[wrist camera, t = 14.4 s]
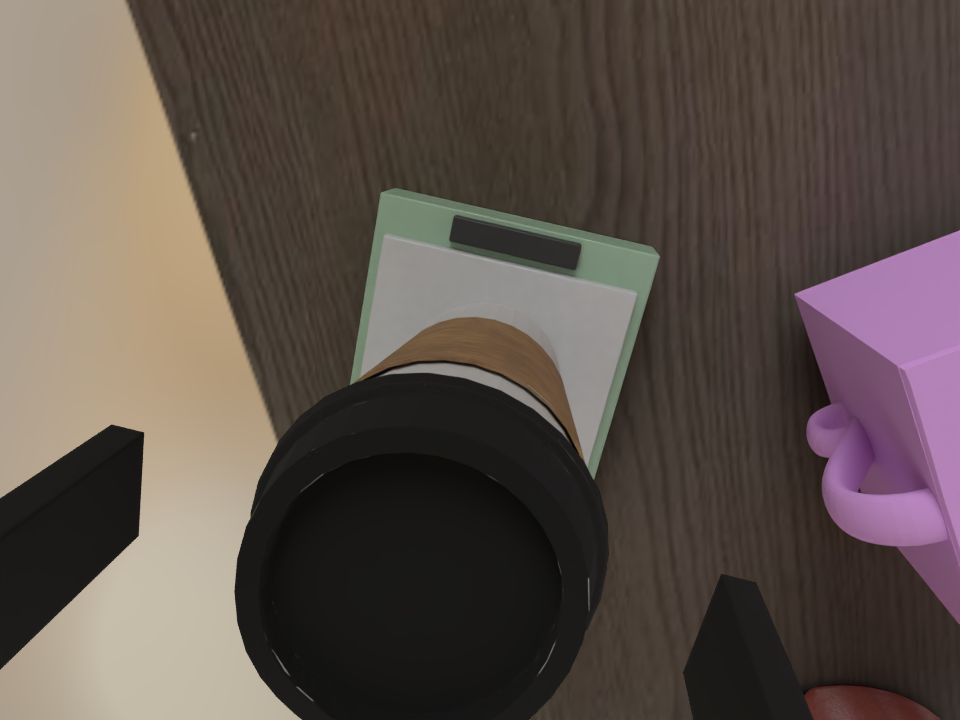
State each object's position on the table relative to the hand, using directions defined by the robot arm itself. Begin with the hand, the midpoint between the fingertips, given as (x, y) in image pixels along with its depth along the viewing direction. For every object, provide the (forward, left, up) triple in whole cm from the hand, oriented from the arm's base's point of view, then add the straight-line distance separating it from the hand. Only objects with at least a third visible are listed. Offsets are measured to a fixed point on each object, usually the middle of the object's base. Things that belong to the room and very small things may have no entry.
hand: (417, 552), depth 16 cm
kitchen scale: (0, 0, -16) cm, 16 cm away
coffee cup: (0, 0, -14) cm, 14 cm away
